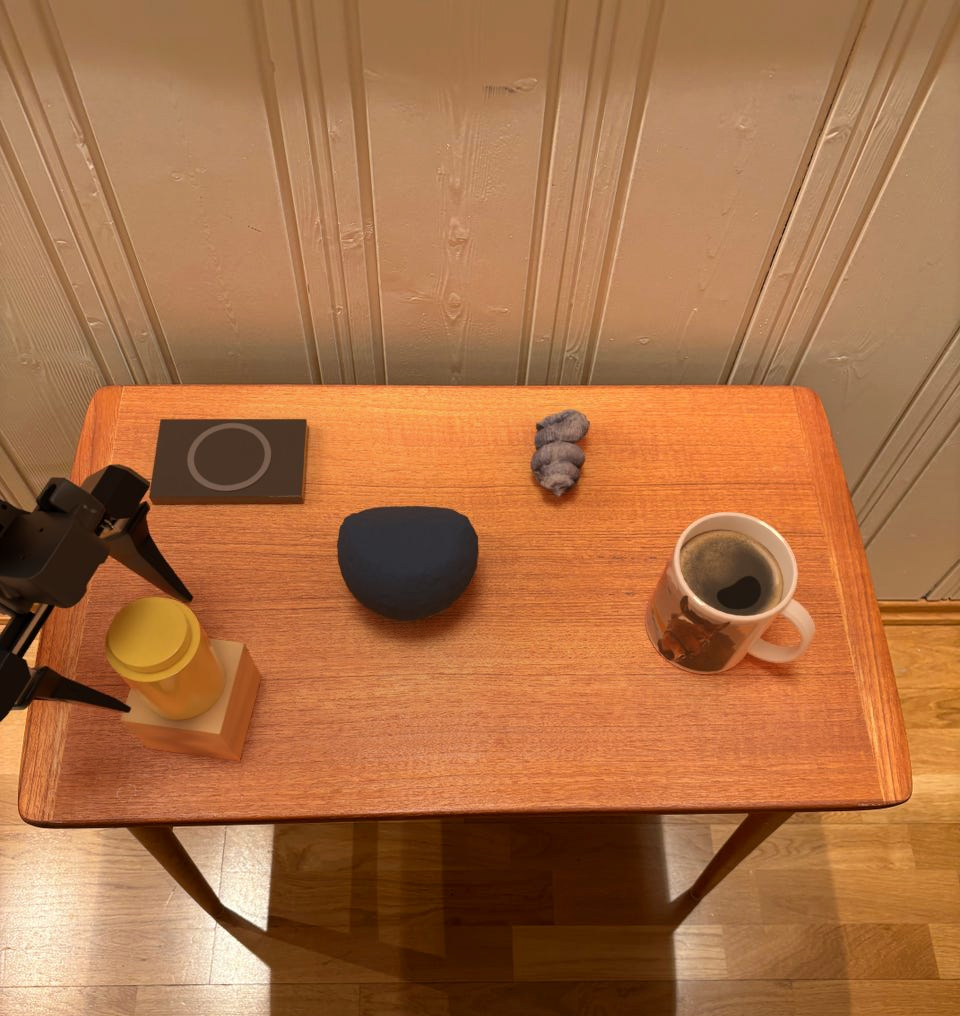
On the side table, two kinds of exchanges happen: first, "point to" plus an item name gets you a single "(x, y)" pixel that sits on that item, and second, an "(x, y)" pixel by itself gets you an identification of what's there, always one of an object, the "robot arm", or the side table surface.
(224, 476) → the hob
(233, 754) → the cube
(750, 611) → the mug
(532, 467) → the seashell
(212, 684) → the jar
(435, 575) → the decorative stone
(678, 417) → the side table surface
